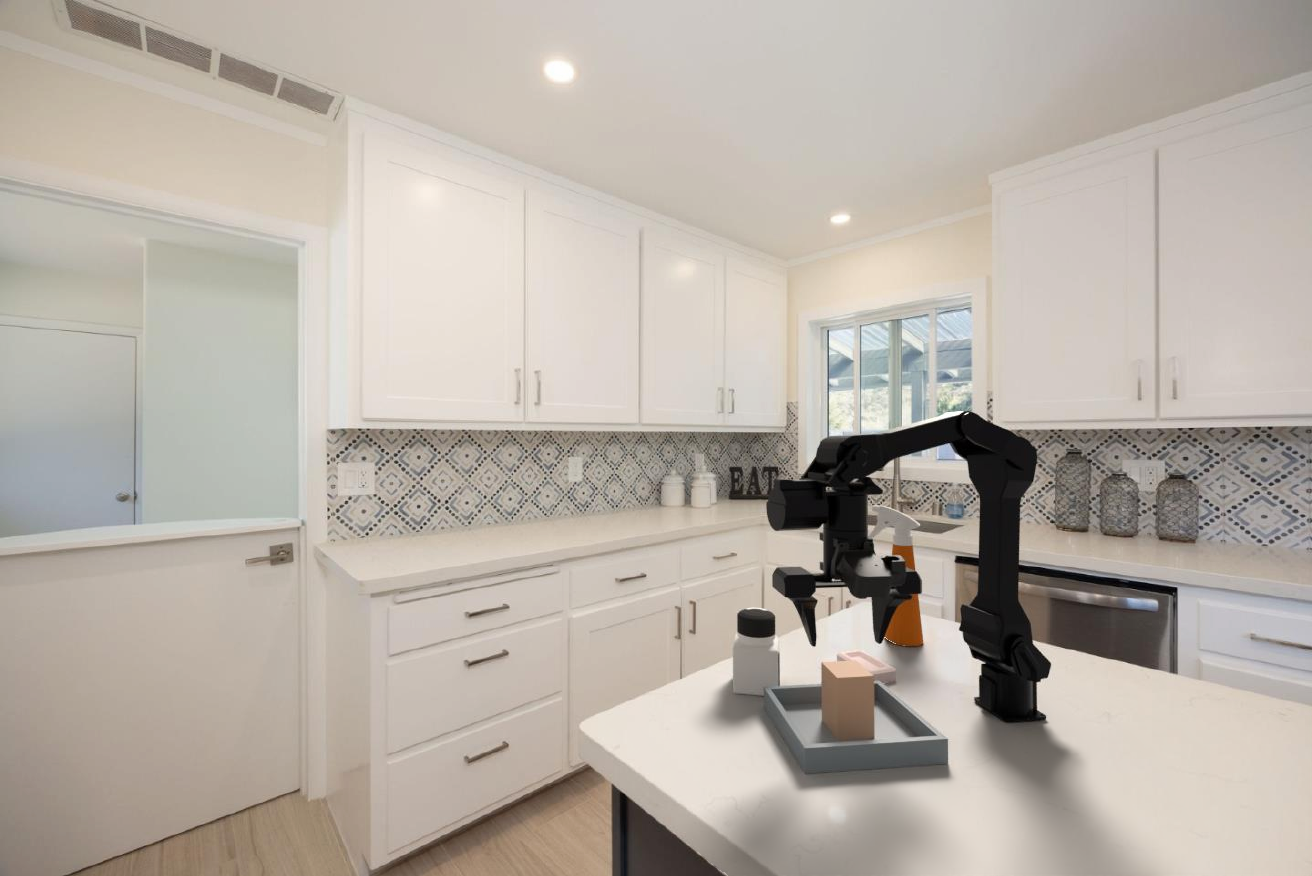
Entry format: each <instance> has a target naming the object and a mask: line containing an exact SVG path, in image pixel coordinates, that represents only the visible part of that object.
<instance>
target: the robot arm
mask: <svg viewBox="0 0 1312 876" xmlns="http://www.w3.org/2000/svg"><path fill="white" fill-rule="evenodd" d="M948 444H949V445H950V447H951V448H952V451H953V452H954V454H956V455H958V456H959V457H961V458H962V459H963V460H965V461H966V462H967V470H968V478H969V479H970V481H971V484H973V487H974V488H975V490H976V492H977V494H978V497H979V521H978V522H979V524H978V525H979V530H978V532H979V533H978V561H977V564H978V567H977V568H978V569H977V570H978V571H977V573H978V575H977V593H976V595H975V597H974V598H973V599H972V601H971V602H970V603H969V604H967V603H965V604H964V603H962V604H961V606H960V607H959V608H960V625H959V627H958V631H960V632H962V639H963V642H964V643H965V644H966V645H968V648H969V651H970V655H971V657H972V658H973V659H975V660H978V661H980V662H982V663H981V664H980V665H981V666H980V667H981V668H980V670H981V671H980V673H981V674H979V675H978V696H974V698H973V701H974V702H975V703H976V704H978V705H979V706H981V707H983V709H985V710H986V711H988V712H990V713H991V714H993V715H994V716H995V717H997V718H998V719H1000V720H1001V721H1003V722H1006V723H1013V722H1028V721H1030V722H1031V721H1043V720H1044V721H1045V720H1047V715H1046V714H1045V713H1044V712H1041V711H1040V710H1038V683H1040V682H1041V680H1044V679H1048V678H1049V676H1050V672H1051V668H1052V662H1051V661H1050V660H1049V659H1048V658H1047V657H1046V656H1045V655H1044V654H1043V653H1042V652H1041V651H1040V650H1039V648H1038V647H1037V646H1036V645H1035V644H1034V640H1033V632H1032V626H1031V625H1032V623H1031V621H1030V619H1029V618H1028V616H1027V614H1026V612H1025V609H1024V608H1023V606H1022V604H1021V602H1020V599H1019V585H1020V582H1019V579H1020V577H1019V574H1020V542H1021V541H1020V538H1021V537H1020V536H1021V535H1020V533H1021V532H1020V531H1021V530H1020V529H1021V502H1022V501H1021V500H1022V497H1024V496H1025V493H1026V492H1027V491H1028V490H1029V488H1030V487H1031V486H1032V484H1033V483H1034V480H1035V473H1036V469H1037V464H1038V463H1037V462H1038V453H1037V449H1036V447H1035V446H1034V445H1033V444H1032V443H1031V442H1030V440H1028V439H1027V438H1026V437H1023V436H1019V435H1017V434H1016V433H1014V432H1013V431H1011V430H1009V429H1006V428H1004V427H1002V426H1000V425H997V424H995V423H992V422H991V421H990V422H989V420H988V421H987V420H986V419H985V418H983V417H982V416H980V415H979V414H978V413H976V412H974V411H971V410H962V411H961V410H959V411H949V412H947V411H946V412H944V413H942V414H941V415H939V416H935V417H930V418H927V419H923V420H920V421H916V422H911V423H909V424H905V425H902V426H898V427H893V428H890V429H887V430H886V429H885V430H883V431H880V432H873V433H857V434H854V433H853V434H842V435H839V434H838V435H830V436H829V435H828V436H827V437H824V438H823V439H822V440H820V442H819V445H818V447H817V448H816V453H815V457H814V458H813V460H812V461H811V462H810V464H809V465H808V467H807V468H806V470H805V471H804V473H803V474H802V476H801V478H799V479H786V478H774V480H773V488H772V489H771V490H770V492H769V495H768V499H767V501H766V502H765V503H766V504H765V505H766V509H765V510H766V518H767V520H768V523H769V526H770V527H771V529H773V531H775V532H783V531H784V532H785V531H787V532H789V531H806V530H807V531H808V530H811V531H813V530H818V529H821V527H822V532H819V541H822V542H823V543H822V544H823V545H822V547H823V553H822V554H823V555H822V557H823V559H822V560H823V561H819V570H820V571H822V572H819V573H812V572H810V571H808V570H807V569H805V568H804V567H802V566H777V567H776V568H775V569H774V570H773V573H772V575H771V576H772V580H771V581H772V582H771V585H772V588H773V589H774V590H776V591H777V592H778V593H779V594H781V595H782V596H783V597H784V598H787V599H789V600H790V601H791V602H792V604H793V605H794V607H795V610H796V611H797V613H798V616H799V619H800V621H801V624H802V627H803V629H804V633H805V634H806V637H807V639H808V642H809V645H810V646H811V647H813V648H814V647H816V646H817V638H818V637H817V636H818V635H817V624H816V622H817V620H816V607H817V604H818V602H819V601H818V599H817V598H816V597H814V596H813V595H814V594H815V593H816V589H827V588H829V589H830V588H831V589H832V588H847V589H848V591H849V594H850V595H851V596H853V597H855V598H857V599H860V600H861V599H862V600H865V599H867V598H871V612H872V613H871V614H872V629H873V636H874V641H875V643H877V644H879V645H881V644H882V643H883V641H884V639H885V638H884V637H885V634H886V631H887V629H888V626H889V624H890V621H891V619H892V616H893V614H894V613H895V611H896V609H897V607H898V606H899V605H900V604H902V603H903V602H904V601H906V600H911V599H912V597H913V596H912V595H910V594H918V595H921V594H922V593H923V580H922V577H921V575H920V574H919V573H918V572H917V570H915V571H914V570H912V569H909V568H907V567H906V565H905V560H904V559H903V558H902V557H901V556H900V555H892V554H891V555H885V556H884V555H883V556H882V555H881V556H878V555H876V551H875V544H874V538H872V539H871V538H868V536H869V504H868V503H869V500H868V499H869V496H872V495H874V496H876V495H882V494H883V493H884V490H883V489H882V488H881V487H880V486H879V485H878V484H877V483H875V482H874V481H873V479H872V477H870V475H873V474H874V473H876V472H878V471H880V470H882V469H884V468H885V467H886V466H887V465H888V464H889V463H890V462H891V461H894V460H896V459H898V458H902V457H905V456H909V455H913V454H916V453H919V452H923V451H926V450H930V449H933V448H937V447H940V446H945V445H948ZM854 480H855V481H854ZM827 488H831V489H827ZM822 525H823V526H822Z"/></svg>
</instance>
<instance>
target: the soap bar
mask: <svg viewBox="0 0 1312 876" xmlns="http://www.w3.org/2000/svg"><path fill="white" fill-rule="evenodd" d="M855 660H856V661H857V662H858V663H859V664H861V665H862V666H863V667H864V668H865V669H866V670H868V671H869V672H870V673H871V674H872V675H874V681H881V682H882V683H883V684H888V683H896V680H897V678H896V677H897V674H896V673H897V672H896V670H897V669H895V668H894V667H893V666H891V665H888V664H887V663H885V662H883V661H881V660H880V659H878V658H876V657H875V656H873V655H871V654H869V653H867V652H865V651H863V650H862V649H854V650H850V651H841V652H838V653H837V654H836V661H855Z"/></svg>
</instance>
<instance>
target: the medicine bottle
mask: <svg viewBox="0 0 1312 876" xmlns="http://www.w3.org/2000/svg"><path fill="white" fill-rule="evenodd" d="M736 614H737V615H736V617H737V618H736V620H737V621H736V624H737V626H736V627H737V629H736V631H737V632H736V633H735V634H734V640H733V647H732V691H733V693H734V694H737V695H748V696H762V697H764V687H771V686H781V682H780V681H781V680H780V679H781V676H780V674H781V673H780V672H781V671H780V669H781V668H780V662H781V661H780V658H781V657H780V641H779V640H780V639H779V636H778V635H776V615H775V614H774V613H773V612H772V611H770V610H769V609H767V608H761V607H747V608H744V609H741V610H740V611H739V612H738V613H736Z"/></svg>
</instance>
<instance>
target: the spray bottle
mask: <svg viewBox="0 0 1312 876" xmlns="http://www.w3.org/2000/svg"><path fill="white" fill-rule="evenodd" d="M871 511H872V512H874V513H877V514H878V515H877V516H876V520H877V522H876V525H874V528H873V530H872V531H871V532H870V534H868V538H871V539H874V538H875V537H876V536H877V535H879V534H880V533H881V532H882V531H883V530H885V529H886V528H888V527H893V528H894V533H893V534H892V546H891V547H892V550H891V555H900V556H901V557H902V558H903V559H904V560H905V565H906V567H907V568H909V569H912V570H914V571H916V564H915V562H916V561H915V555H914V546H913V534H911V533H912V531H911V530H914V529H917V528H919V527H920V526H921V524H920V523H919V522H918V521H917V520H916V519H914V518H912V517H911V516H909V515H908V514H906V513H903V512H901V511H899V510H896V509H894V508H891V507H888V506H885V505H877V504H873V505H872V507H871ZM910 595H912V596H913V597H912V599H911V600H906V601H904V602H903V603H902V604H900V605H899V606H898V607H897V609H896V611H895V613H894V614H893V616H892V619H891V621H890V624H889V626H888V629H887V631H886V634H885V637H886V638H887V639H888V640H890V641H892V642H894V643H896V644H899V645H898V646H900V645H905V646H904V647H906V646H915V647H920V646H921V644H922V645H924V634H923V626H922V619H921V618H922V617H921V609H920V600H919V594H910ZM896 644H895V645H896ZM919 645H920V646H919Z"/></svg>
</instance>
